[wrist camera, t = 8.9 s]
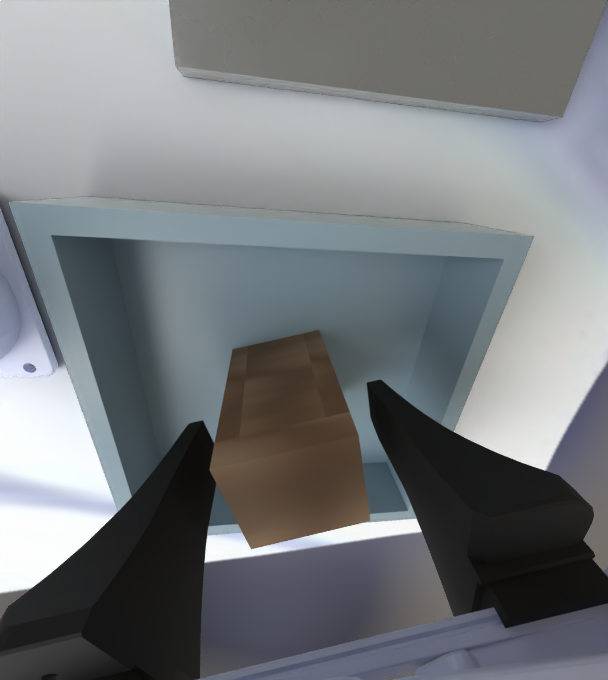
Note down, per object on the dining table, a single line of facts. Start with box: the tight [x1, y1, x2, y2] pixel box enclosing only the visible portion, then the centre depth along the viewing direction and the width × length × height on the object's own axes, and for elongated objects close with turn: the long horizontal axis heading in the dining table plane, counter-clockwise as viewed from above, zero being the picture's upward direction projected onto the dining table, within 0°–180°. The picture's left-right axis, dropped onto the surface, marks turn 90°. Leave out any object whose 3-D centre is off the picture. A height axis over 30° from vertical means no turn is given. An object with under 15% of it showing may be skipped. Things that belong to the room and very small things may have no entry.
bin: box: [8, 197, 534, 535], centre depth 14 cm, size 16×16×4 cm
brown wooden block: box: [209, 330, 370, 549], centre depth 13 cm, size 4×4×7 cm
